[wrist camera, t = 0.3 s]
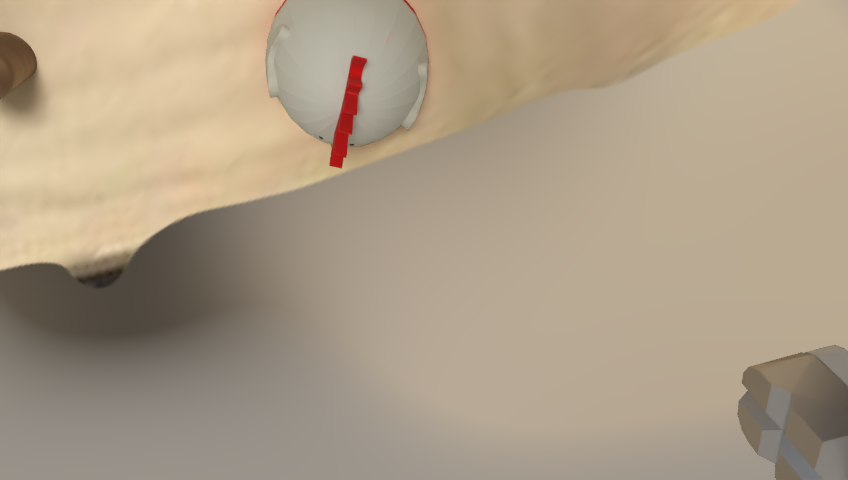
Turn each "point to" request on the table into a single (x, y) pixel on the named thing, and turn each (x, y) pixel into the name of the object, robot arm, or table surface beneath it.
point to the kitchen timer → (347, 68)
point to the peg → (14, 62)
